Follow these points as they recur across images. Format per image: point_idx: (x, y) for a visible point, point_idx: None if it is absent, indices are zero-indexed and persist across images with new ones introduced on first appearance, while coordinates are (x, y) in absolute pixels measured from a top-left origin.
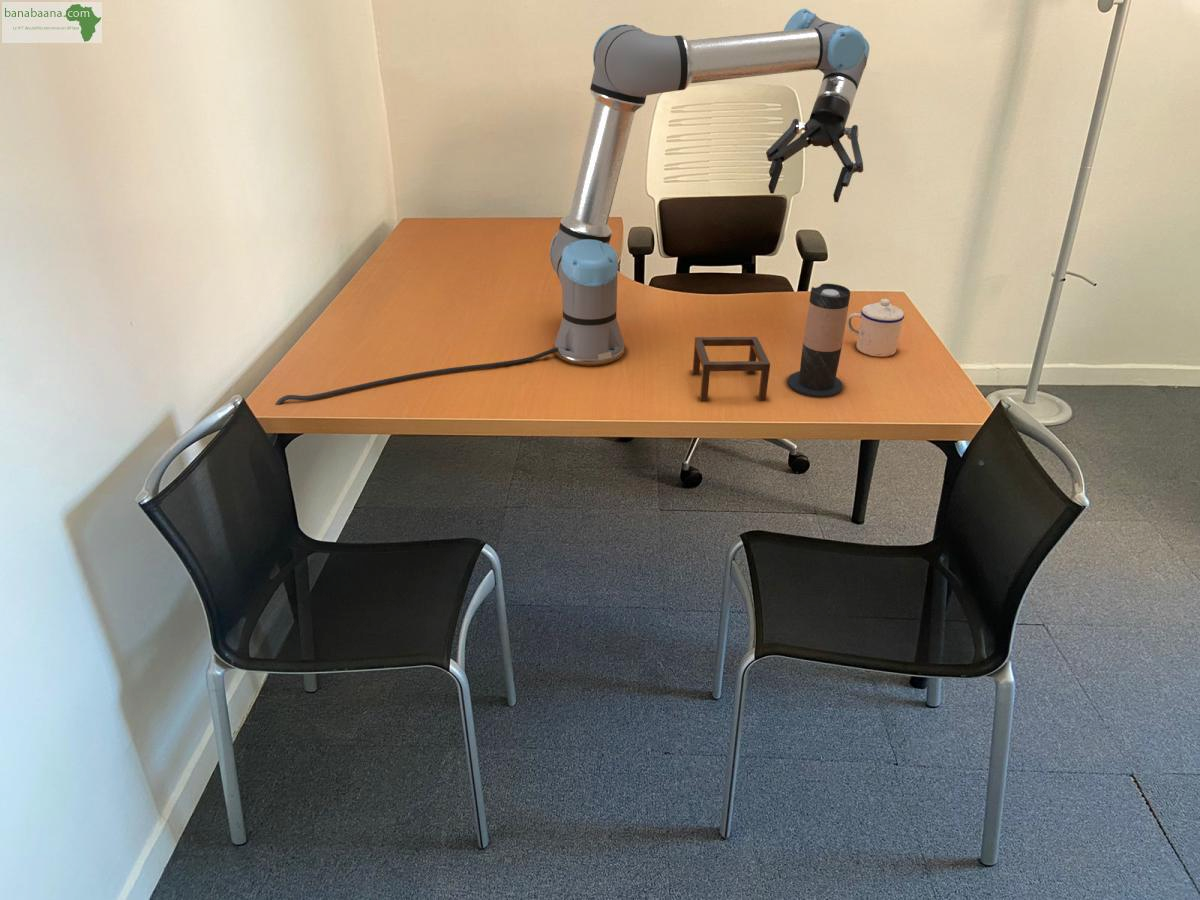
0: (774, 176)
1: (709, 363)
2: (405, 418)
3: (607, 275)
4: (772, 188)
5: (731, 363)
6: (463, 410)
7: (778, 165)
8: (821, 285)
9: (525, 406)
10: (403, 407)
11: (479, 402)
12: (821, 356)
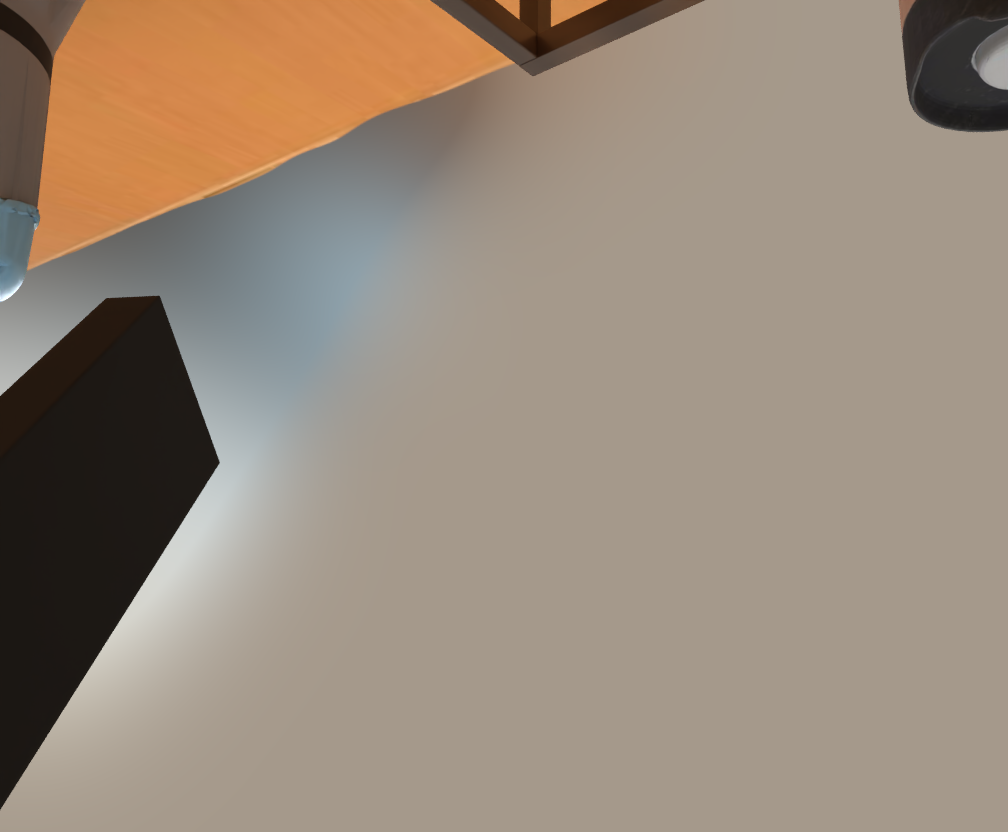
0: (138, 579)
1: (544, 65)
2: (131, 224)
3: (27, 235)
4: (199, 416)
5: (611, 37)
6: (159, 186)
7: (13, 767)
8: (982, 17)
9: (218, 142)
10: (84, 213)
11: (142, 165)
12: None
